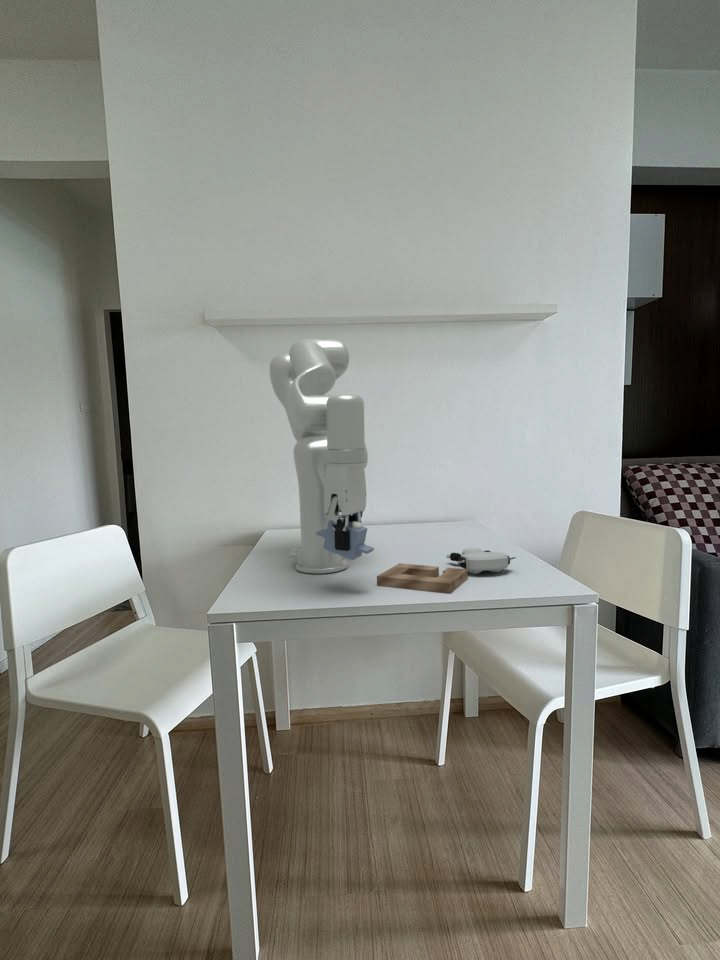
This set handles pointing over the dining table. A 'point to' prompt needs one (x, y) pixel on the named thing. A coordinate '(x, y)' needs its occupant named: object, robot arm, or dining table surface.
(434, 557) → the dining table surface
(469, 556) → the robot toy
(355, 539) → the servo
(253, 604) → the dining table surface
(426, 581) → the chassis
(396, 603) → the dining table surface
